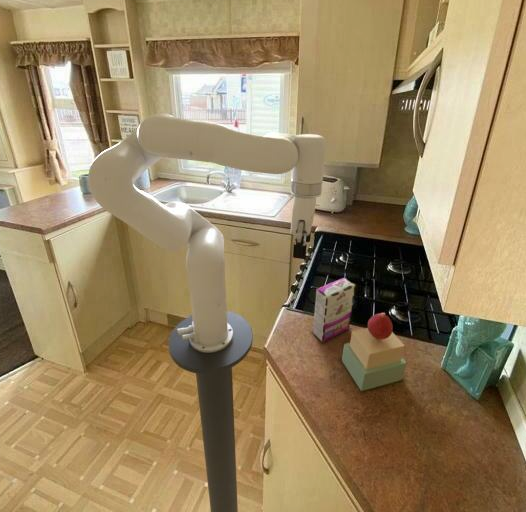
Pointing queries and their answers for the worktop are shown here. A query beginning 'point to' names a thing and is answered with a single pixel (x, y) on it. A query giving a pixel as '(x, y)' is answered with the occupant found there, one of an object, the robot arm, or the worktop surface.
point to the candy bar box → (333, 309)
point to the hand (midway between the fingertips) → (301, 249)
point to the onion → (380, 326)
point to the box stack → (374, 359)
